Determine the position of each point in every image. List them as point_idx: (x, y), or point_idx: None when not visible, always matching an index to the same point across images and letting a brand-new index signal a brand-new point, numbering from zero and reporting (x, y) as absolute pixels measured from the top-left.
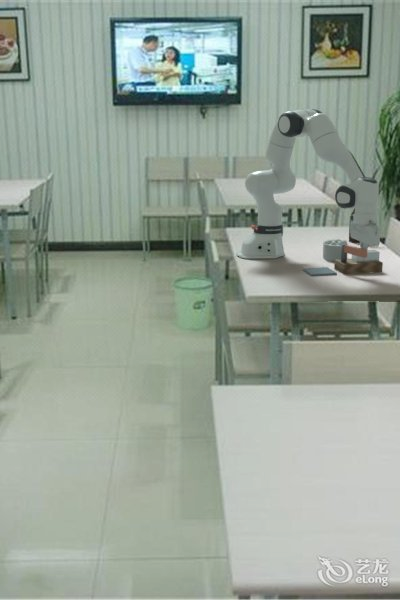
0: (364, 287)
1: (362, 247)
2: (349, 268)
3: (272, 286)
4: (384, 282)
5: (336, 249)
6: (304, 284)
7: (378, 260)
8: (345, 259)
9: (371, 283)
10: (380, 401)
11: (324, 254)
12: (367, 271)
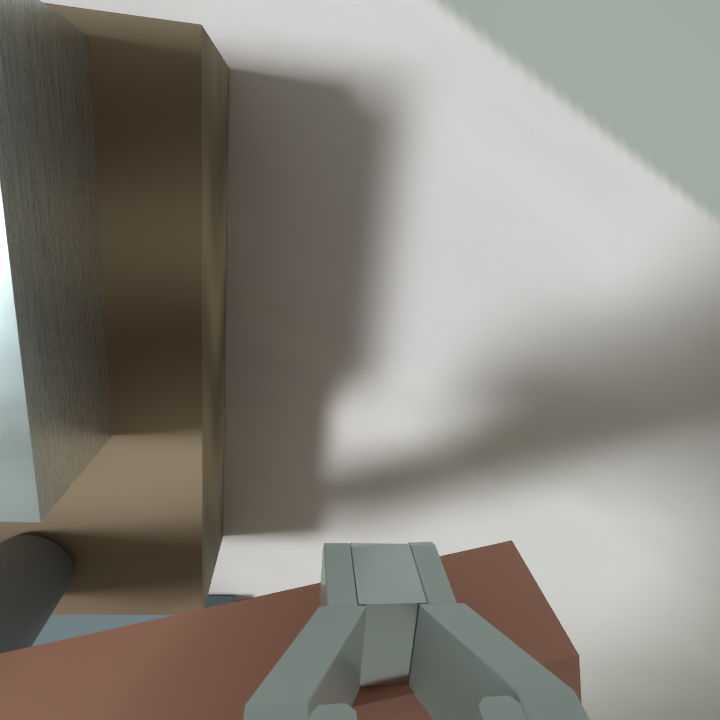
0: (711, 550)
1: (348, 690)
2: (211, 516)
3: None
4: (666, 319)
5: None
6: None
7: (79, 43)
8: (54, 586)
9: (637, 448)
10: None
11: None
12: (222, 282)
